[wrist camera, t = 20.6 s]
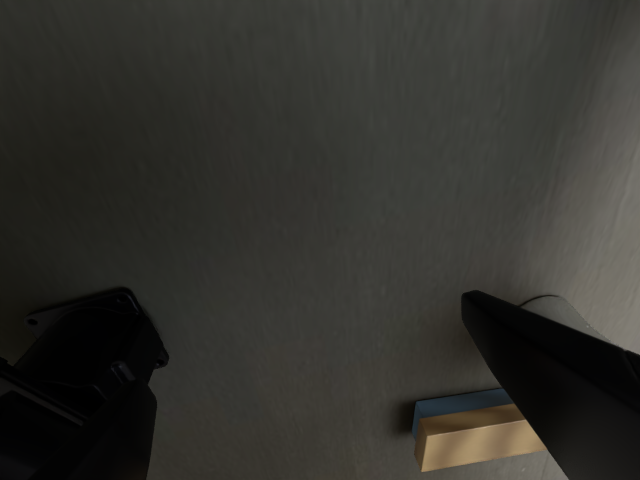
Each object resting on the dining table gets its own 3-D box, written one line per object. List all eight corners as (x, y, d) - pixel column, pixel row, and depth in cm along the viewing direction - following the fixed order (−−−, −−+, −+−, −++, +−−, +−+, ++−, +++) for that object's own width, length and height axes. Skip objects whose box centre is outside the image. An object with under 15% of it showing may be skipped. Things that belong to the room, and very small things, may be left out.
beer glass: (581, 331, 29) (858, 553, 15) (507, 369, 29) (709, 611, 16) (567, 275, 26) (898, 490, 12) (485, 319, 26) (712, 566, 13)
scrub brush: (406, 434, 31) (421, 472, 28) (410, 399, 29) (427, 436, 26) (532, 414, 33) (559, 447, 30) (544, 379, 31) (575, 412, 28)
